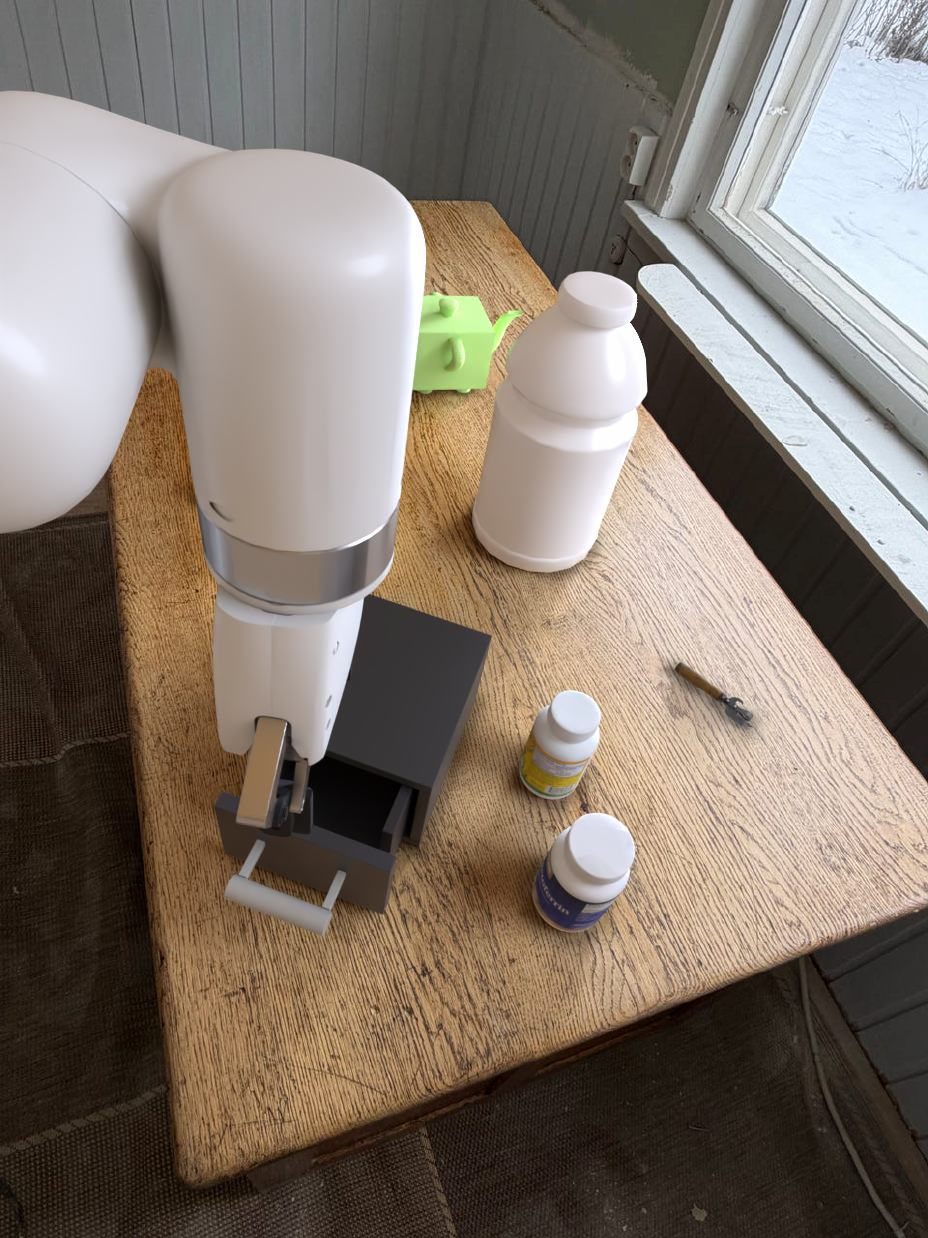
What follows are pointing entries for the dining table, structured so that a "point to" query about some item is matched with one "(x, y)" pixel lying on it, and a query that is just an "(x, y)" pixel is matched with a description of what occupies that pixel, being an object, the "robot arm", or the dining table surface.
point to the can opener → (716, 695)
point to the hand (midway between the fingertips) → (304, 744)
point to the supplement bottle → (560, 745)
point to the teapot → (456, 343)
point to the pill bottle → (583, 872)
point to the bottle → (561, 426)
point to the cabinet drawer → (323, 845)
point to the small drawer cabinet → (408, 700)
